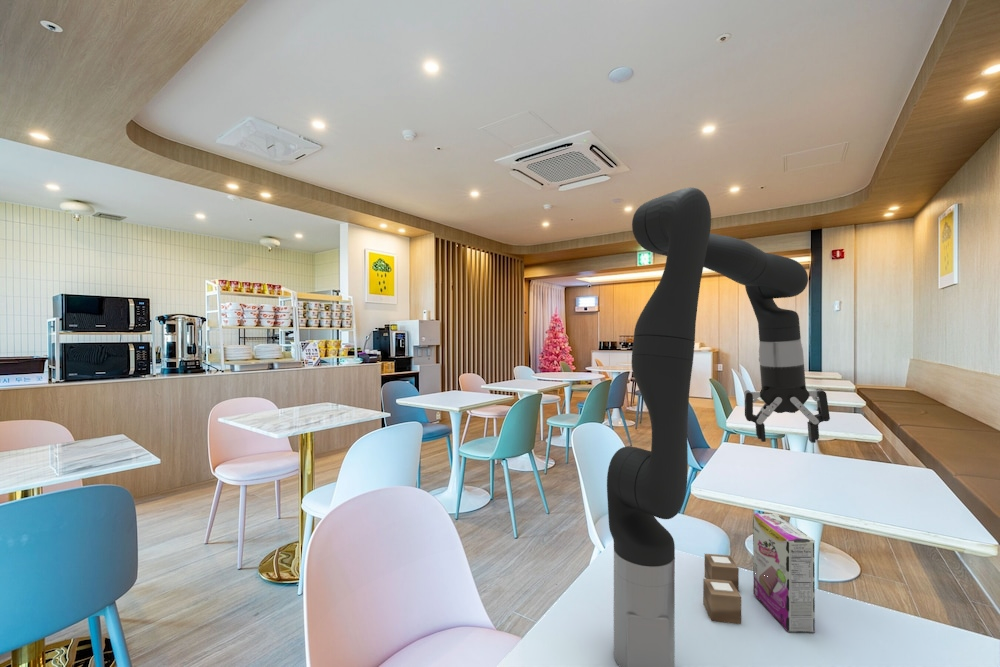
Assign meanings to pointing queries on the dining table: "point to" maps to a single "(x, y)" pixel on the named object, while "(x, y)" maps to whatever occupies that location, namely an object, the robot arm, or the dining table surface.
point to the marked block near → (722, 601)
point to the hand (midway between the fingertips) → (787, 441)
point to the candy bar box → (784, 572)
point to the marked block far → (721, 568)
